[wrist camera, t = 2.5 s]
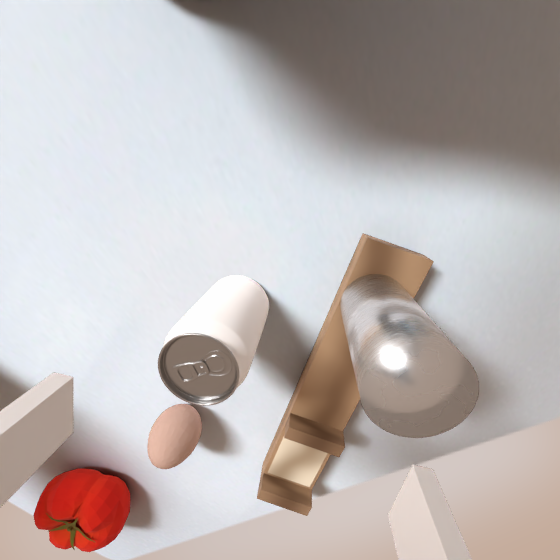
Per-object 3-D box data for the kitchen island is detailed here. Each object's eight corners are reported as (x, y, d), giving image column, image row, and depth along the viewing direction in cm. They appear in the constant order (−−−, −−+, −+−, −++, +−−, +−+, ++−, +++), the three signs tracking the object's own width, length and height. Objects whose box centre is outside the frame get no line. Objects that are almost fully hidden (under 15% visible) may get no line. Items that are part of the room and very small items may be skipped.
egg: (218, 413, 36) (195, 469, 29) (190, 434, 38) (162, 491, 31) (186, 384, 35) (155, 434, 28) (158, 407, 37) (123, 459, 30)
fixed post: (330, 322, 28) (342, 416, 17) (355, 264, 26) (389, 326, 15) (390, 343, 28) (442, 451, 17) (419, 287, 26) (502, 366, 15)
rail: (263, 462, 38) (256, 498, 33) (362, 233, 28) (372, 242, 23) (307, 478, 38) (307, 515, 33) (423, 254, 28) (443, 267, 23)
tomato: (143, 511, 43) (115, 566, 37) (73, 504, 44) (35, 557, 38) (131, 460, 40) (98, 510, 34) (57, 454, 41) (12, 502, 35)
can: (279, 320, 31) (260, 398, 20) (224, 337, 33) (178, 419, 21) (255, 264, 30) (220, 315, 18) (199, 285, 31) (134, 344, 20)
